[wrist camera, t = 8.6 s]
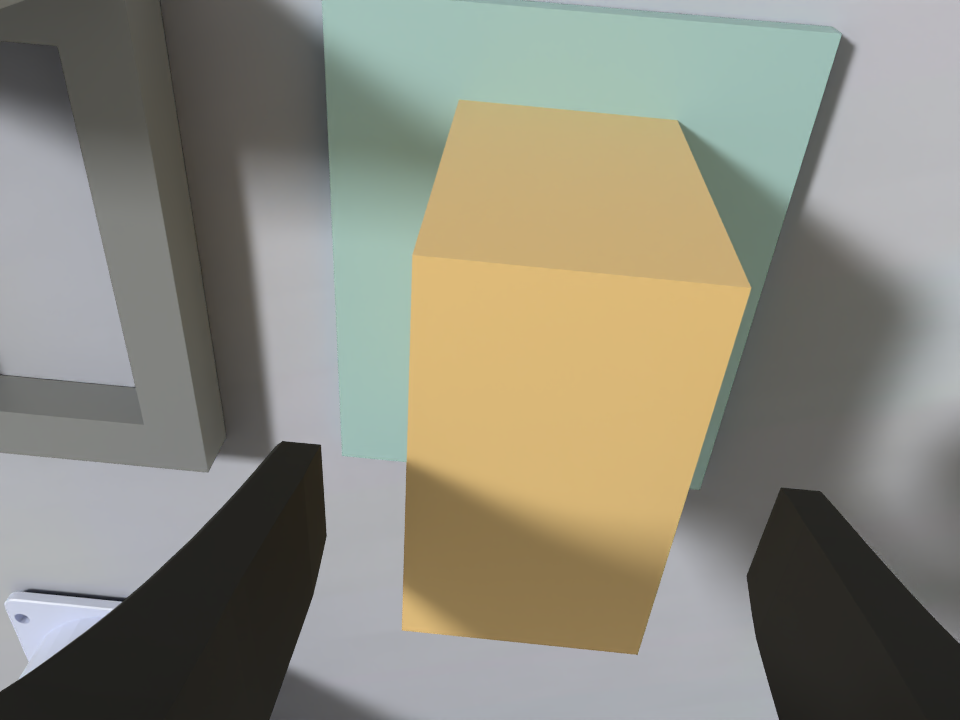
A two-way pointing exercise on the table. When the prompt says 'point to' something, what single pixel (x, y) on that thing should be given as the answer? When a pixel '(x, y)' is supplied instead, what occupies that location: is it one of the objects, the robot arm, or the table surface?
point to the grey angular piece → (125, 250)
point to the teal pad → (550, 84)
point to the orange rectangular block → (559, 373)
